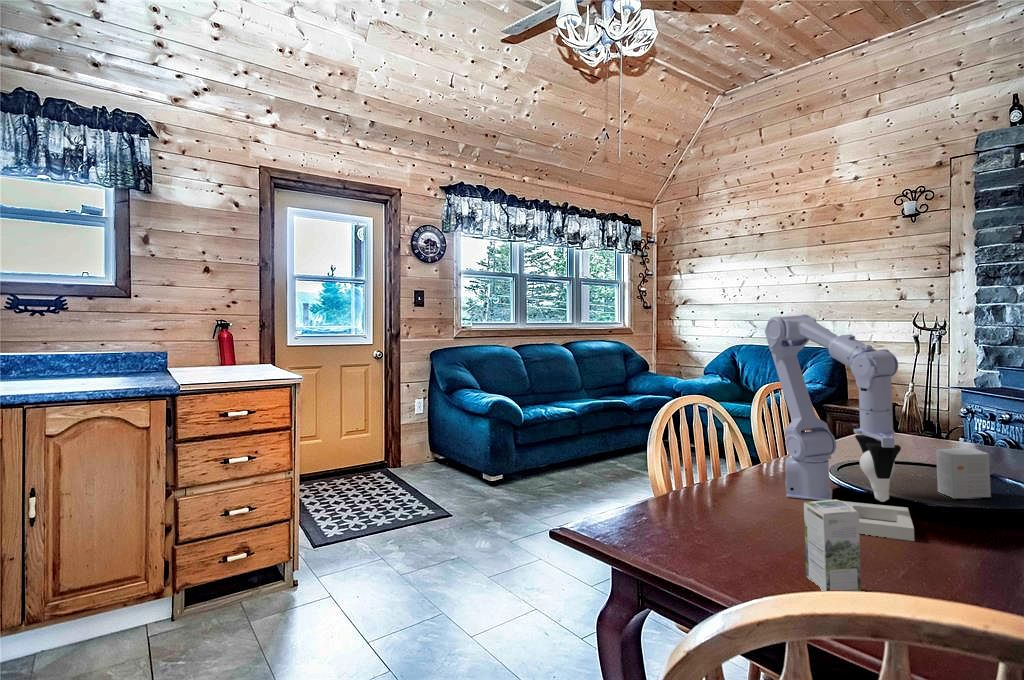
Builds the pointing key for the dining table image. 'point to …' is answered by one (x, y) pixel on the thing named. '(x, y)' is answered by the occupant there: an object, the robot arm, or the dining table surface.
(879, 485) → the lightbulb
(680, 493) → the dining table surface
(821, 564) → the syrup box
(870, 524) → the white shallow tray
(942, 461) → the small box
